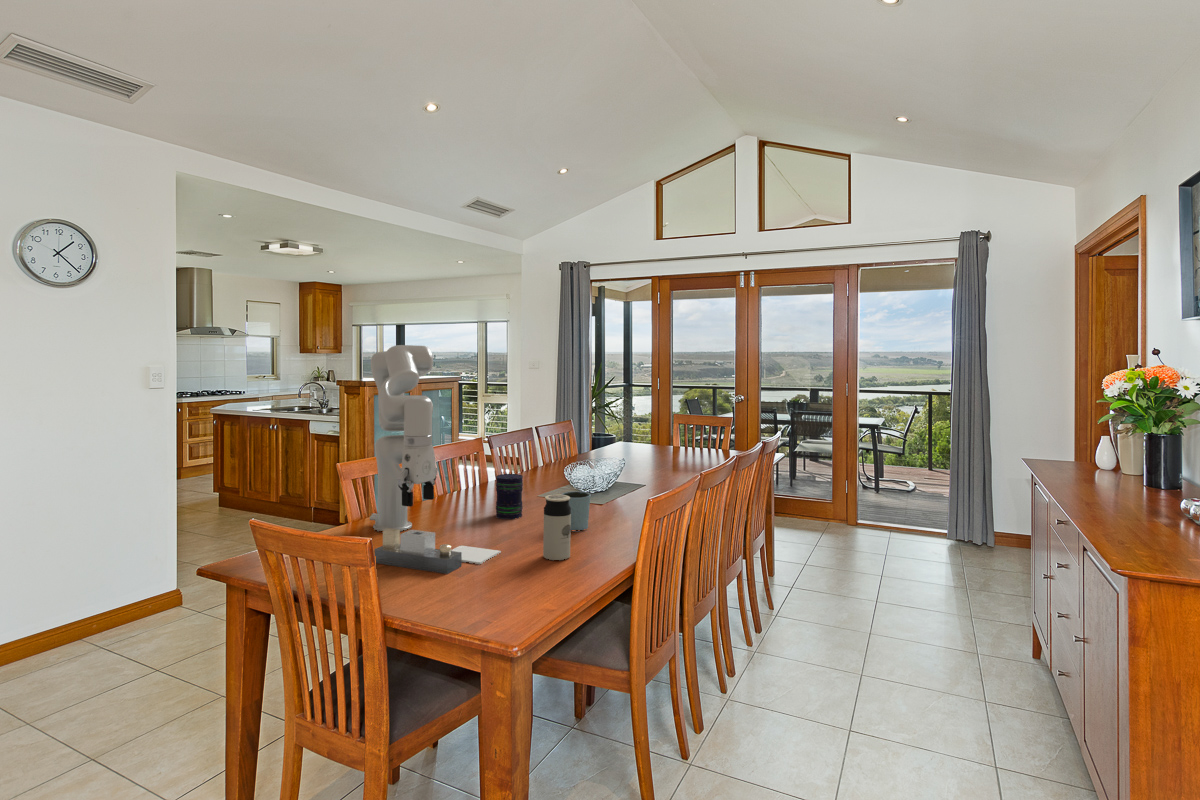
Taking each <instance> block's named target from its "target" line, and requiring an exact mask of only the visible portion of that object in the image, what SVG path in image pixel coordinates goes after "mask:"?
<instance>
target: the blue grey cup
mask: <svg viewBox="0 0 1200 800" xmlns="http://www.w3.org/2000/svg"><path fill="white" fill-rule="evenodd" d="M560 495H567V496H569V497H570V500H569V505H570V507H571V530H584V529H587V528H589V518H590V516H589V515H590V505H591V496H592V495H591V493H589V492H586V491H578V490H573V491H572V490H571V491H566V492H563V493H561V494H560ZM587 530H588V529H587Z"/></svg>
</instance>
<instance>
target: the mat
mask: <svg viewBox="0 0 1200 800" xmlns="http://www.w3.org/2000/svg"><path fill="white" fill-rule="evenodd" d="M451 551H455V552H462V563H466V562H469V564H473V563H475V565H480V564H481V565H482V564H484V563H485V561H486V560H488V559H489V560H491V559H492V557H493V558H494V556H495V557H496V556H498V555H499V553H500V554H501V553H502V551H501V550H498V549H490V548H483V547H474V546H468V545H467V546H466V545H458V546H457V547H454V548H453V549H452V548H451ZM497 554H498V555H497ZM490 558H491V559H490ZM489 560H488V561H489ZM483 562H484V563H483ZM486 562H487V561H486Z"/></svg>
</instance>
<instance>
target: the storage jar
mask: <svg viewBox="0 0 1200 800" xmlns="http://www.w3.org/2000/svg"><path fill="white" fill-rule="evenodd" d="M523 477H524V476H523V475H522V474H518V473H503V474H498V475H496V478H495V479H496V481H495V486H496V487H495V491H496V503H495V517H496V518H498V519H501V520H516V519H515V518H517V519H520V518H522V517H523V500H522V499H523V498H522V497H523V496H522V495H523V494H522V492H523V490H524V489H523V485H524V483H523V481H524V480H523ZM519 517H520V518H519Z"/></svg>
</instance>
